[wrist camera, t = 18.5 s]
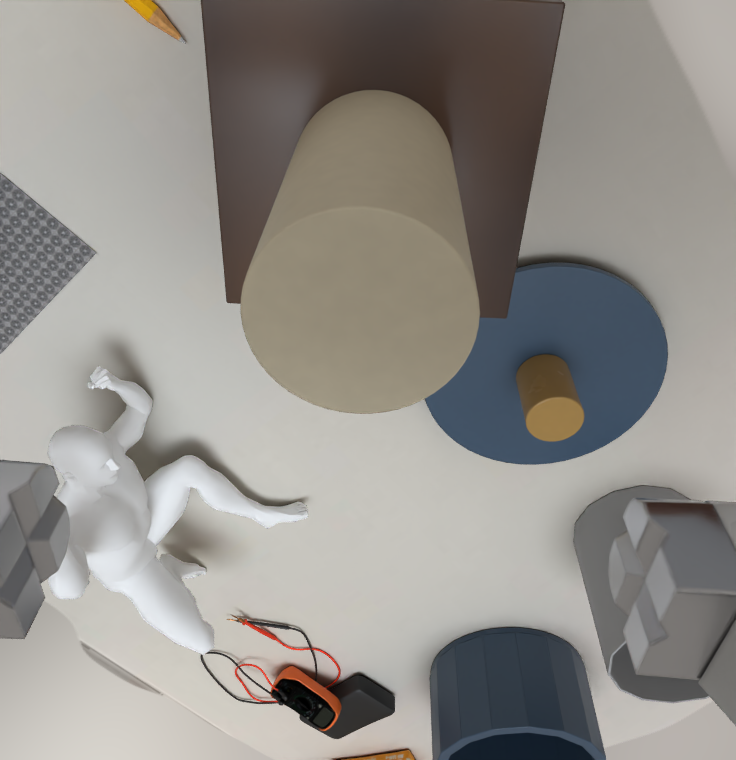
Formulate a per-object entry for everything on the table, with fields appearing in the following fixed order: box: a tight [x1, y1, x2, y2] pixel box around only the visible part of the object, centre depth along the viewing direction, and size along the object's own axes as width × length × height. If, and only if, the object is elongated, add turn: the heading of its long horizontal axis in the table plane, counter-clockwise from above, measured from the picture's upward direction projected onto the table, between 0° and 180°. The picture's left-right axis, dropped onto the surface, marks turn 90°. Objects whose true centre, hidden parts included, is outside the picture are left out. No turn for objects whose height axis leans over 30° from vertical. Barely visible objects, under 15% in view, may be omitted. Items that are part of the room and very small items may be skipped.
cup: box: [573, 486, 710, 703], centre depth 44 cm, size 8×8×10 cm
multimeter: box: [201, 615, 395, 739], centre depth 58 cm, size 18×12×3 cm, turn 39°
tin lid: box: [425, 263, 668, 464], centre depth 38 cm, size 14×14×5 cm
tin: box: [430, 628, 606, 760], centre depth 55 cm, size 13×13×8 cm
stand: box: [201, 0, 565, 319], centre depth 27 cm, size 10×10×12 cm
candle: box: [241, 90, 480, 414], centre depth 18 cm, size 5×5×9 cm
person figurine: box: [47, 366, 308, 655], centre depth 43 cm, size 13×13×18 cm
